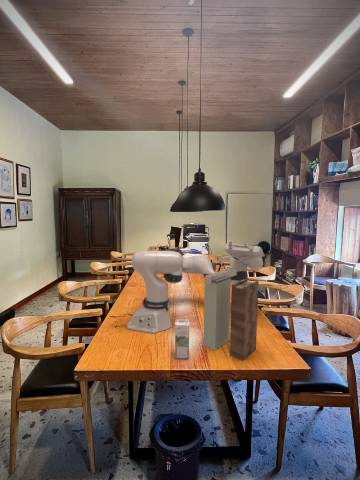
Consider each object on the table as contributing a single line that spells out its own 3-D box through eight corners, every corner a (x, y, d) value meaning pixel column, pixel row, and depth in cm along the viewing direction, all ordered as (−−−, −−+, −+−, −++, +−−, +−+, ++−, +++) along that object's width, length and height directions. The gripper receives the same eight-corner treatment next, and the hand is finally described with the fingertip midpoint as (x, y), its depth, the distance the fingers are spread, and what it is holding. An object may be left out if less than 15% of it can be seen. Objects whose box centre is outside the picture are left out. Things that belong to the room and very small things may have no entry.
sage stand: (217, 336, 131) (219, 274, 128) (229, 340, 127) (230, 276, 124) (203, 345, 122) (204, 279, 119) (215, 350, 118) (216, 281, 115)
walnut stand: (243, 345, 123) (245, 278, 120) (255, 349, 119) (258, 281, 116) (229, 355, 113) (231, 284, 110) (243, 360, 110) (245, 287, 106)
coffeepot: (202, 280, 235) (202, 260, 233) (204, 278, 244) (205, 258, 242) (219, 282, 230) (220, 261, 228) (222, 280, 239) (222, 259, 237)
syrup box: (188, 351, 116) (188, 318, 115) (189, 359, 110) (189, 324, 109) (174, 352, 116) (174, 318, 115) (174, 359, 110) (175, 324, 109)
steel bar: (230, 273, 133) (231, 267, 133) (236, 274, 131) (236, 268, 131) (205, 282, 116) (205, 275, 116) (211, 284, 114) (211, 276, 114)
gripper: (264, 262, 143) (255, 251, 133) (229, 257, 156) (218, 247, 146) (267, 251, 145) (258, 239, 135) (232, 247, 158) (222, 237, 148)
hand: (237, 244), depth 141 cm, fingers open, 8 cm apart
